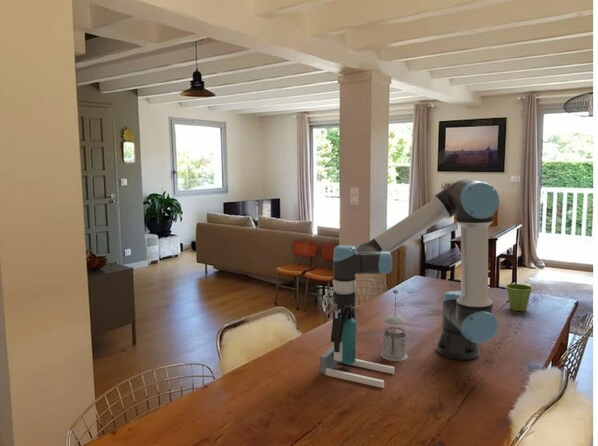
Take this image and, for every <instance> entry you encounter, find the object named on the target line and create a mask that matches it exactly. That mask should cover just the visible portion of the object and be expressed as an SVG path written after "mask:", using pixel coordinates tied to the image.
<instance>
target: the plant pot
mask: <svg viewBox="0 0 598 446" xmlns="http://www.w3.org/2000/svg"><path fill="white" fill-rule="evenodd" d="M505 287H506V291H507V296H508V303H509V309H510V310H511V311H515V312H519V311H520V312H526V311H527V308H528V304H529V300H530V296H531V292H532V290H534V288H533V287H532V286H530V285H528V284H523V283H522V284H520V283H507V284H505Z"/></svg>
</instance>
